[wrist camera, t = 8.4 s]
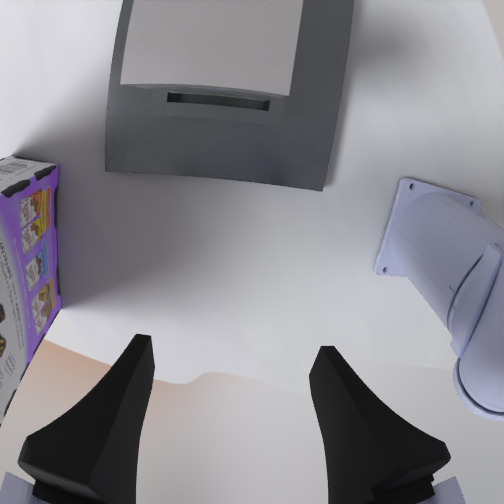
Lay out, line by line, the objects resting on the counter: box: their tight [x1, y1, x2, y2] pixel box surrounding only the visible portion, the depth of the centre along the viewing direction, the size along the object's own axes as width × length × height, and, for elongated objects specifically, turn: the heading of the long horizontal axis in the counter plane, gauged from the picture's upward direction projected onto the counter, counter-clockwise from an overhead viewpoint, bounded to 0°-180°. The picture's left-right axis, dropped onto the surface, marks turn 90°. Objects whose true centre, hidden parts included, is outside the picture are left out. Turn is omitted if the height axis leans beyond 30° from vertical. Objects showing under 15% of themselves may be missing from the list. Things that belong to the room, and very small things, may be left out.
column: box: [120, 0, 303, 101], centre depth 8 cm, size 4×4×7 cm
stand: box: [105, 0, 354, 192], centre depth 14 cm, size 14×14×4 cm
